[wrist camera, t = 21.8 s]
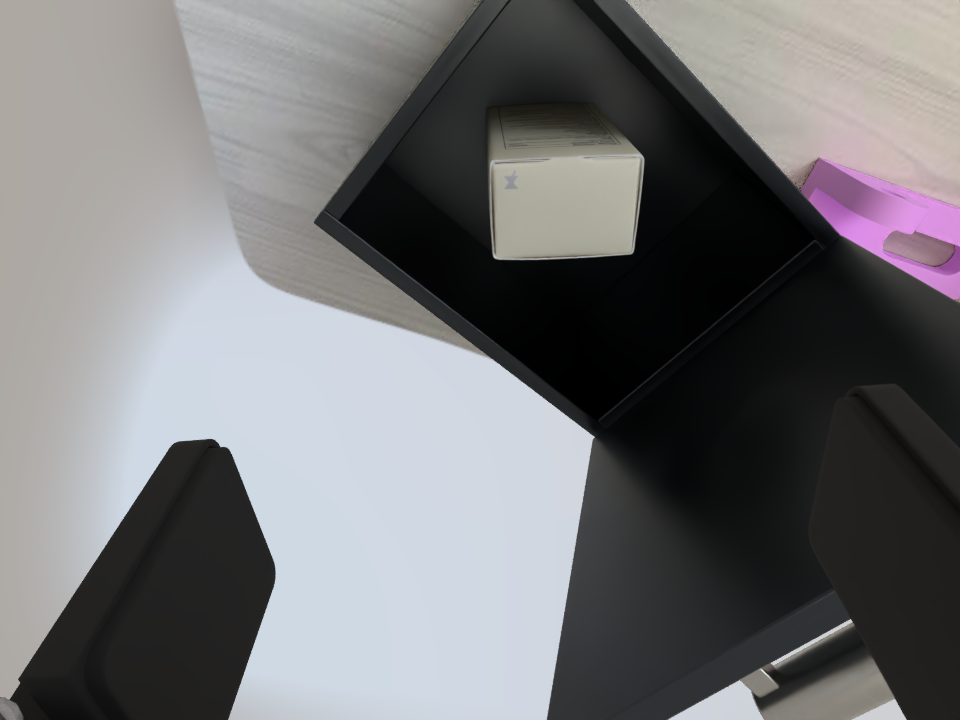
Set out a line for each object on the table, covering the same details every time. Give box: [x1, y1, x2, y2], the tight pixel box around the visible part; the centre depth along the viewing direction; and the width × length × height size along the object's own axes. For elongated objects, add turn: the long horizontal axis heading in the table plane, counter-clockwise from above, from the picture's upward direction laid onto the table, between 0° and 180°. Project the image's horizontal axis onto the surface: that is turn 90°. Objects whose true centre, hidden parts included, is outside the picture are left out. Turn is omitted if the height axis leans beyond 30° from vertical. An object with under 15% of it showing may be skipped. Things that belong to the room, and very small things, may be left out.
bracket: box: [800, 158, 960, 300], centre depth 37 cm, size 13×6×7 cm, turn 72°
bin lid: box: [547, 235, 960, 720], centre depth 22 cm, size 18×15×5 cm
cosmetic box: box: [486, 103, 644, 260], centre depth 32 cm, size 6×4×12 cm
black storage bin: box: [314, 0, 841, 437], centre depth 33 cm, size 18×15×12 cm
